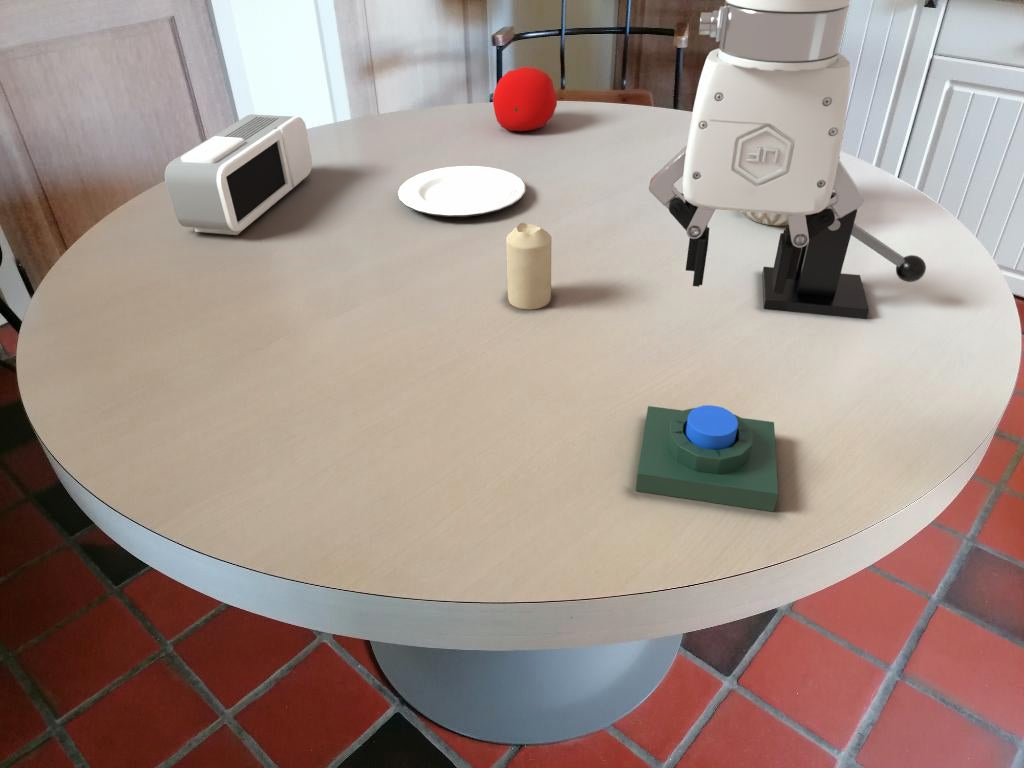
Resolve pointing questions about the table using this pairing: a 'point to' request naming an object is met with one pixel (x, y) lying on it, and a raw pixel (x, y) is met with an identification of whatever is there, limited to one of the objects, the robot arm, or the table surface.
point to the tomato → (524, 99)
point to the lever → (893, 256)
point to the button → (711, 427)
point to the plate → (461, 191)
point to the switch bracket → (821, 277)
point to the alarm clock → (238, 173)
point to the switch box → (708, 462)
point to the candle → (529, 266)
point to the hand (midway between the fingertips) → (737, 280)
